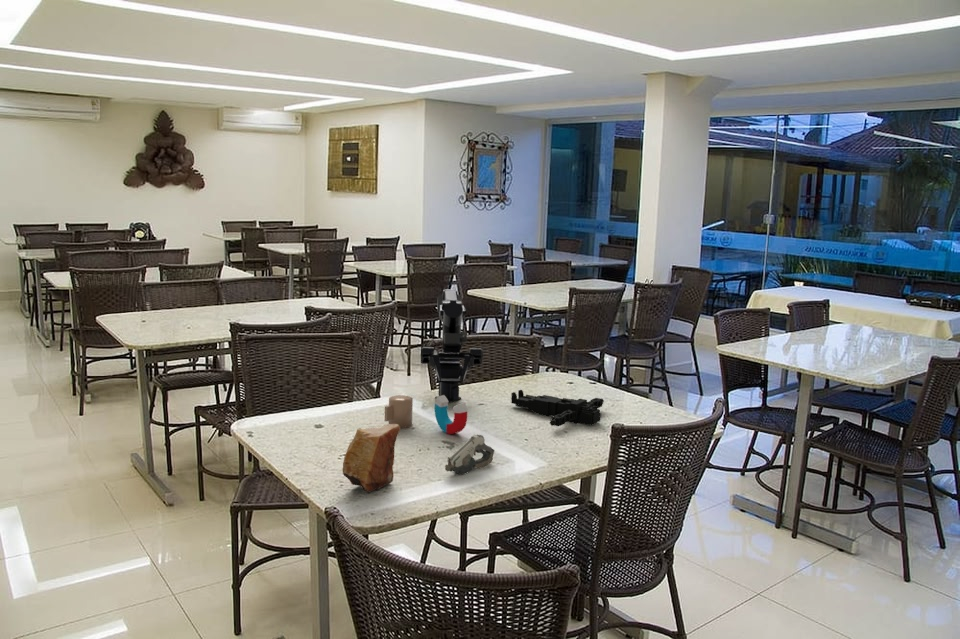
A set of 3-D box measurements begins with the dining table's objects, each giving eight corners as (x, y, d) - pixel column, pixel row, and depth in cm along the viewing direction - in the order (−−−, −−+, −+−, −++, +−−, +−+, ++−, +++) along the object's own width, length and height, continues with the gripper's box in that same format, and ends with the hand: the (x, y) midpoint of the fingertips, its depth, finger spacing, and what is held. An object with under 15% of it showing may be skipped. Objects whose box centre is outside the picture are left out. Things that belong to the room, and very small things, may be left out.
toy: (541, 380, 253) (620, 394, 235) (541, 398, 254) (619, 413, 236) (488, 399, 228) (571, 416, 210) (488, 419, 229) (571, 438, 211)
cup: (377, 425, 216) (378, 399, 215) (401, 419, 223) (401, 393, 221) (393, 431, 212) (393, 405, 210) (416, 424, 218) (417, 399, 217)
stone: (387, 474, 181) (387, 416, 178) (407, 486, 174) (408, 426, 171) (335, 488, 172) (335, 427, 169) (354, 501, 165) (355, 438, 162)
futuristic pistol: (452, 491, 184) (440, 461, 180) (490, 454, 192) (480, 425, 188) (459, 494, 183) (447, 465, 178) (497, 457, 191) (486, 427, 186)
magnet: (433, 428, 216) (434, 395, 214) (440, 426, 218) (441, 394, 216) (459, 439, 207) (460, 405, 205) (466, 437, 209) (468, 403, 207)
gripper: (421, 321, 219) (420, 365, 210) (483, 322, 220) (484, 367, 212) (421, 340, 228) (420, 384, 220) (481, 342, 230) (481, 385, 221)
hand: (451, 380), depth 218 cm, fingers open, 6 cm apart
